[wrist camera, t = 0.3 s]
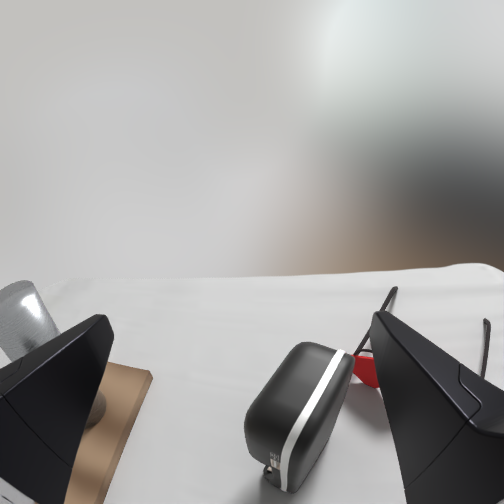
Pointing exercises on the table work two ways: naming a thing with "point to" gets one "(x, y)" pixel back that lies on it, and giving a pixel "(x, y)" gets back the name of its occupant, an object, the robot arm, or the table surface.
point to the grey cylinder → (32, 331)
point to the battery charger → (297, 412)
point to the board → (107, 434)
